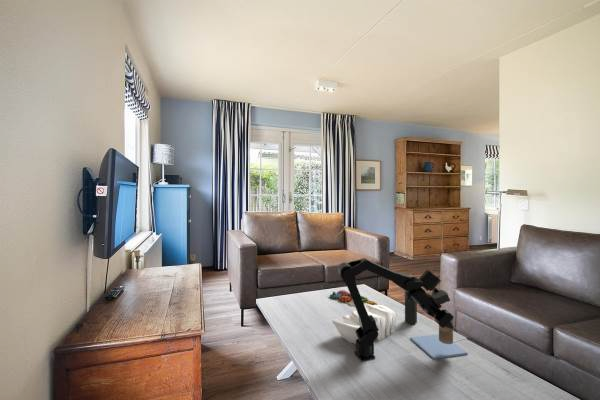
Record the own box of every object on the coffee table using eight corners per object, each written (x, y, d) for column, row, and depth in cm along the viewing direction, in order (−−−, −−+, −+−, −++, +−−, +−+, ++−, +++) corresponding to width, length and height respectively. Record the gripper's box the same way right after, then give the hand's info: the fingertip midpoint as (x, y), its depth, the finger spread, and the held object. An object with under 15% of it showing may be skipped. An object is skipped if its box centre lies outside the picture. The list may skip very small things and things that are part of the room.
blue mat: (433, 359, 113) (433, 357, 113) (410, 339, 129) (410, 337, 129) (467, 354, 116) (467, 352, 116) (441, 335, 132) (441, 333, 132)
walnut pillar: (448, 345, 112) (448, 320, 112) (436, 339, 117) (436, 315, 116) (455, 341, 115) (455, 317, 115) (443, 336, 119) (443, 313, 119)
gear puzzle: (383, 305, 169) (382, 298, 169) (368, 313, 158) (368, 306, 158) (341, 292, 191) (341, 286, 191) (326, 299, 180) (326, 292, 180)
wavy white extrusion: (355, 353, 117) (355, 328, 117) (328, 337, 131) (328, 315, 131) (404, 329, 138) (404, 308, 138) (377, 317, 151) (377, 298, 151)
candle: (407, 318, 149) (407, 272, 149) (417, 321, 146) (417, 274, 145) (404, 322, 145) (404, 274, 145) (414, 325, 142) (414, 276, 141)
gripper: (448, 292, 106) (477, 321, 106) (426, 277, 125) (451, 302, 125) (427, 313, 106) (456, 342, 106) (408, 295, 125) (433, 320, 125)
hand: (449, 324), depth 116 cm, fingers closed on walnut pillar, 5 cm apart
